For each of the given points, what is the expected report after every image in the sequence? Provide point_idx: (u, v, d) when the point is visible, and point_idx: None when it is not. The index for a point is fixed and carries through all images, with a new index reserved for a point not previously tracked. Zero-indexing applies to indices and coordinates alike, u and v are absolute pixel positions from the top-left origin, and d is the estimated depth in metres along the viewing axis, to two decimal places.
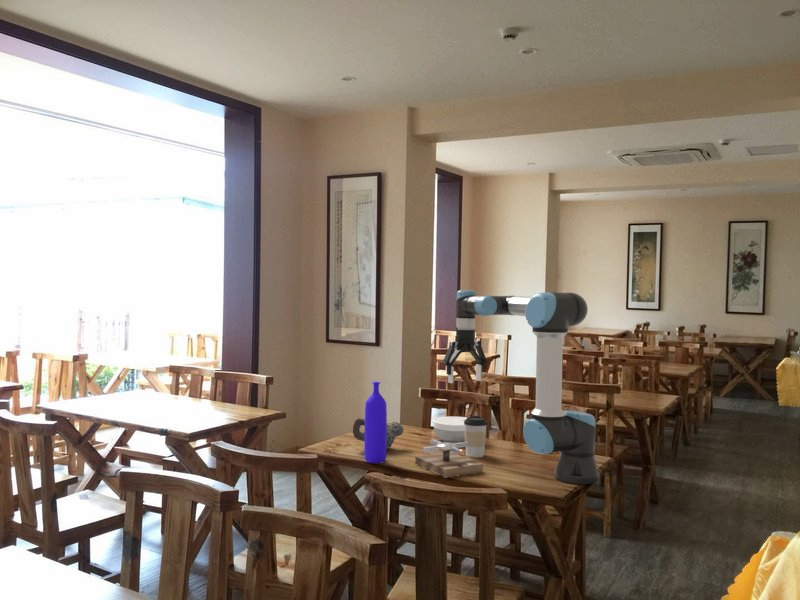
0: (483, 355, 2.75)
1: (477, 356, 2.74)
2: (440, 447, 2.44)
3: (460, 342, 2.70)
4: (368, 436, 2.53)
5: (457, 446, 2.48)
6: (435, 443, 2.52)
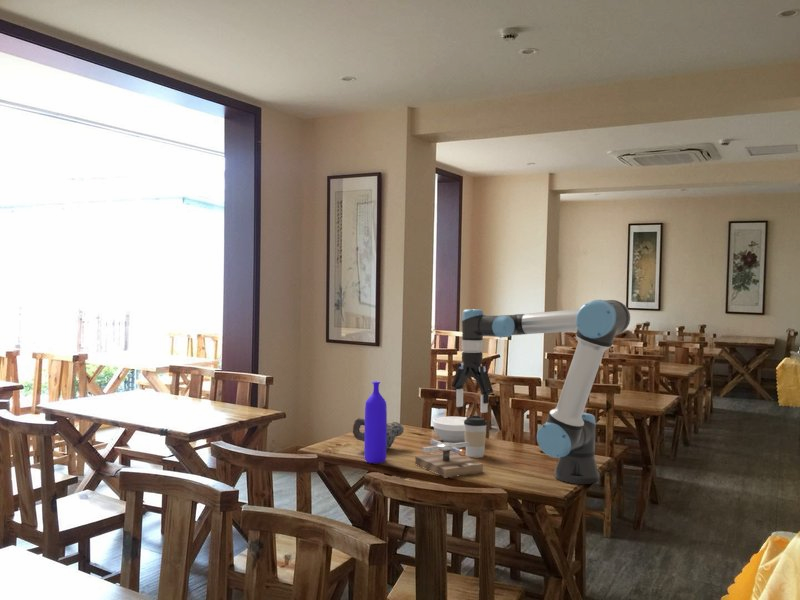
0: (484, 384, 2.41)
1: (478, 384, 2.44)
2: (440, 447, 2.44)
3: (464, 365, 2.51)
4: (368, 436, 2.53)
5: (457, 446, 2.48)
6: (435, 443, 2.52)
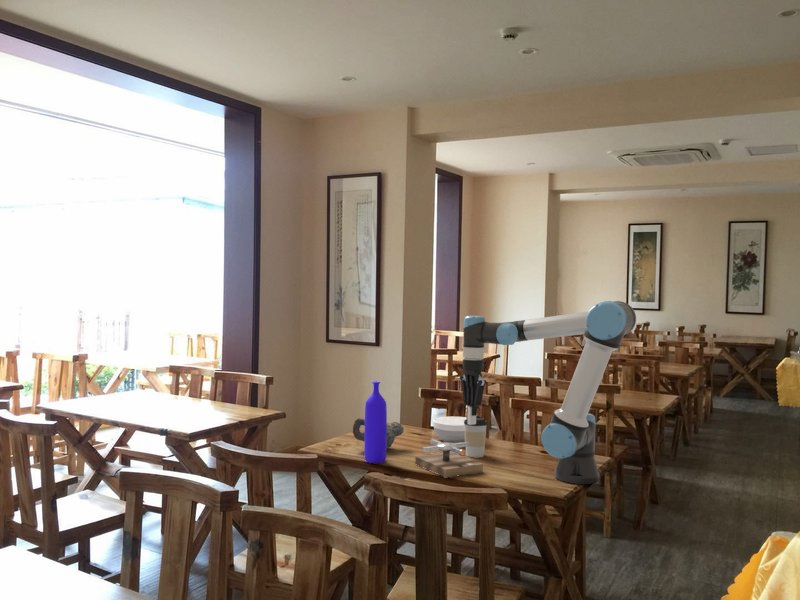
0: (475, 396, 2.41)
1: (471, 394, 2.43)
2: (440, 447, 2.44)
3: (464, 372, 2.47)
4: (368, 436, 2.53)
5: (457, 446, 2.48)
6: (435, 443, 2.52)
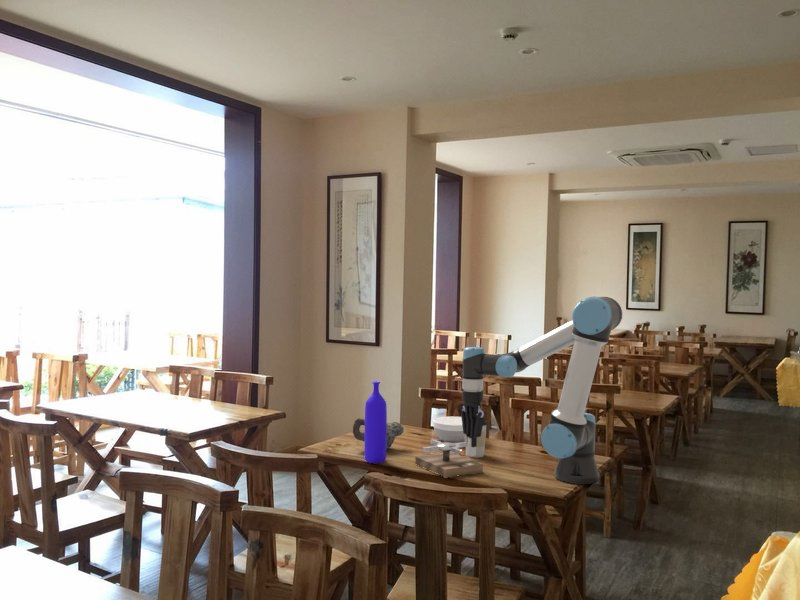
0: (475, 428, 2.41)
1: (471, 425, 2.43)
2: (440, 447, 2.44)
3: (464, 403, 2.47)
4: (368, 436, 2.53)
5: (457, 446, 2.48)
6: (435, 443, 2.52)
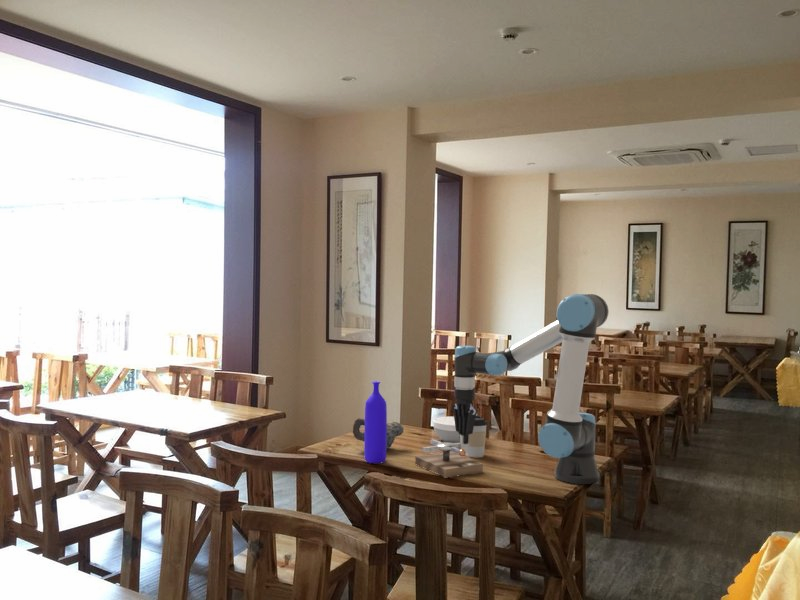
0: (467, 425, 2.45)
1: (463, 423, 2.48)
2: (440, 447, 2.44)
3: (456, 401, 2.51)
4: (368, 436, 2.53)
5: (457, 446, 2.48)
6: (435, 443, 2.52)
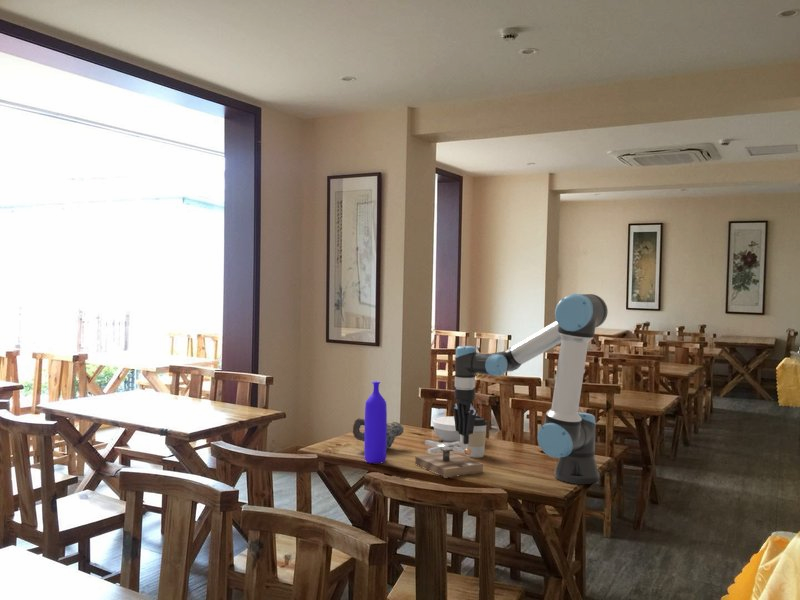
0: (467, 425, 2.46)
1: (463, 423, 2.48)
2: (442, 447, 2.44)
3: (456, 401, 2.52)
4: (368, 436, 2.53)
5: None
6: (432, 444, 2.51)
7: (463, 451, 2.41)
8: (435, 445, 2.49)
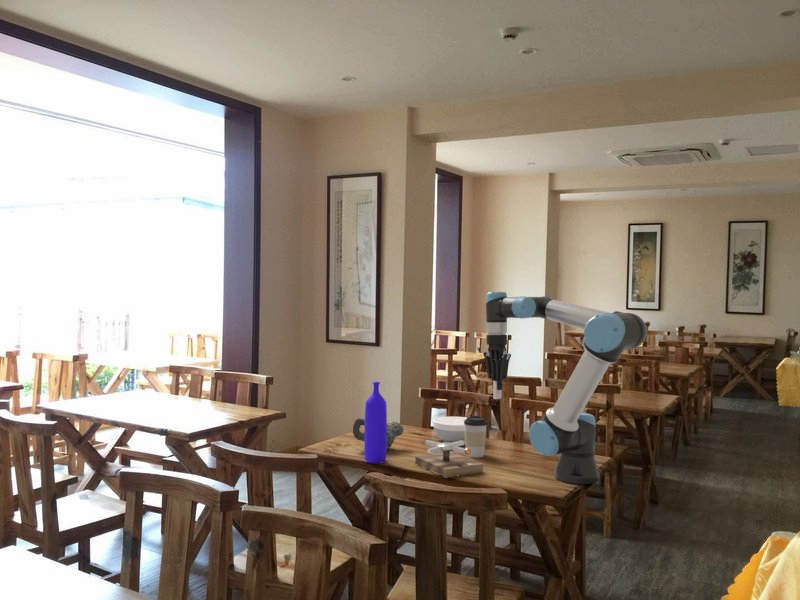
0: (501, 370, 2.44)
1: (496, 369, 2.46)
2: (442, 447, 2.44)
3: (488, 348, 2.51)
4: (368, 436, 2.53)
5: (455, 445, 2.50)
6: (432, 444, 2.51)
7: (463, 451, 2.41)
8: (435, 445, 2.50)
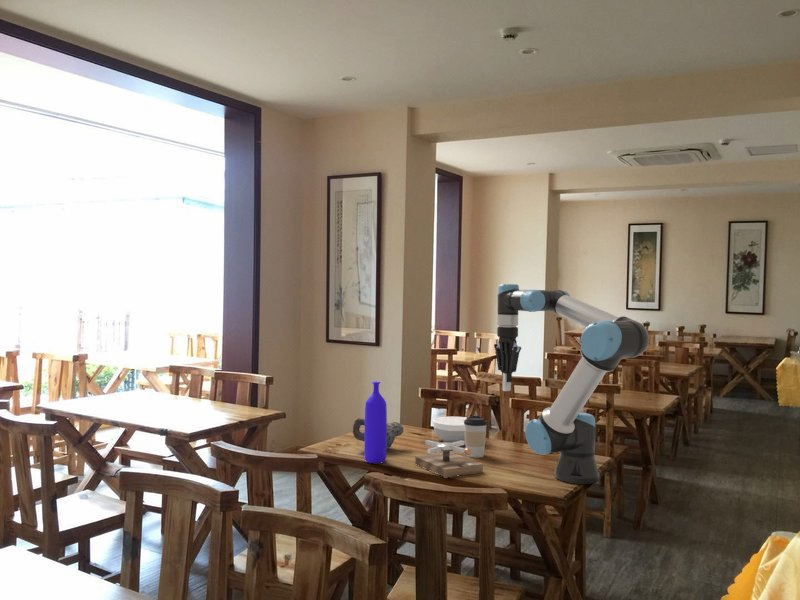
0: (511, 363, 2.45)
1: (506, 361, 2.47)
2: (442, 447, 2.44)
3: (499, 340, 2.51)
4: (368, 436, 2.53)
5: (455, 445, 2.50)
6: (432, 444, 2.51)
7: (463, 451, 2.41)
8: (435, 445, 2.50)
